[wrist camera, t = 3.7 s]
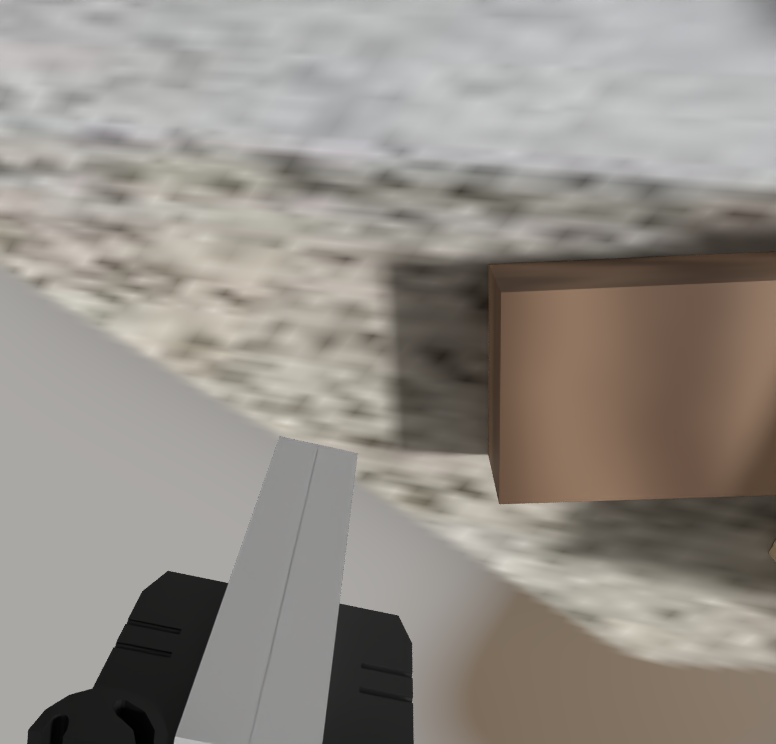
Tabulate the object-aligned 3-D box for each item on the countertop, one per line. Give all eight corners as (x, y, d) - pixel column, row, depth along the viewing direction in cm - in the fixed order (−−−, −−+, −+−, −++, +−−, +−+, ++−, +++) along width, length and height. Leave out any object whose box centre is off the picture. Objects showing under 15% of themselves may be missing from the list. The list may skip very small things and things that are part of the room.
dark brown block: (487, 450, 30) (499, 503, 26) (487, 262, 26) (501, 292, 23) (781, 440, 29) (836, 493, 25) (816, 246, 26) (885, 275, 22)
